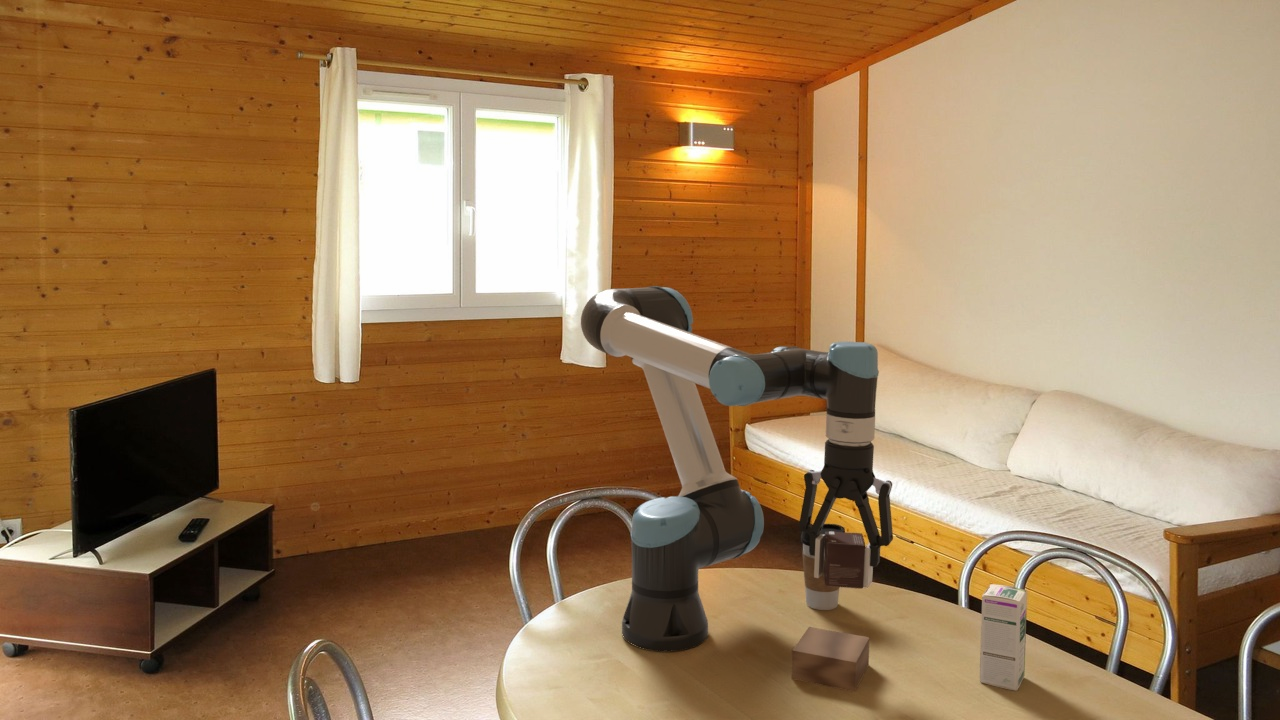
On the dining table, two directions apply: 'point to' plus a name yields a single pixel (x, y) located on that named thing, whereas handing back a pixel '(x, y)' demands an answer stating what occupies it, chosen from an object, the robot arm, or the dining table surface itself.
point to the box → (844, 559)
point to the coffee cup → (815, 587)
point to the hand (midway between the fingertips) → (842, 579)
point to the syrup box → (1003, 636)
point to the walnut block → (830, 658)
